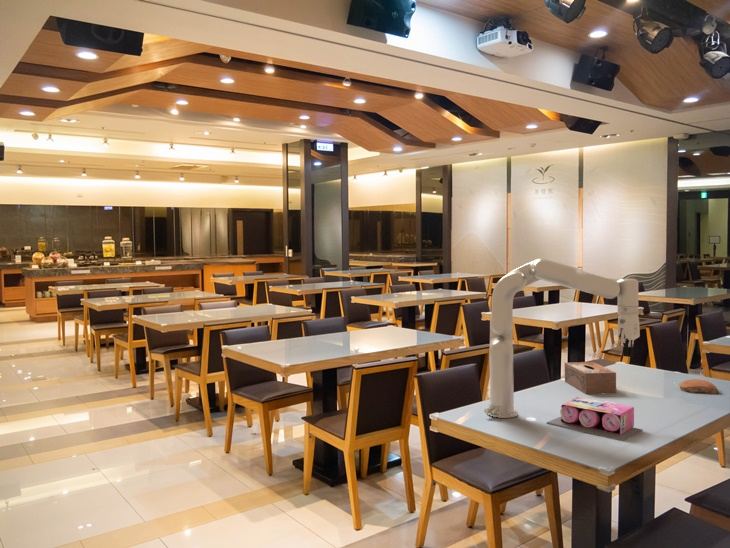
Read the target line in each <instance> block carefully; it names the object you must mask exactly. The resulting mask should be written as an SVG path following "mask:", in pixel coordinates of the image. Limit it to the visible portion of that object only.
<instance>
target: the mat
mask: <svg viewBox="0 0 730 548" xmlns="http://www.w3.org/2000/svg"><path fill="white" fill-rule="evenodd" d="M561 418H562V417H561V416H559V417H556V418H554V419H551V420H549V421H546V424H547V425H552V426H556V427H560V428H561V427H562V428H564V429H569V430H573V431H576V432H577V431H578V432H582V433H586V434H591V435H595V436H599V437H603V438H609V439H614V440H617V441H623V442H624V441H625V440H628V439H629V438H631V437H634V436H635V435H637V434H638V433H641V432H643V429H642V428H638V427H632V428H631V429H629V430H627V431H626V432H624V433H623V434H621V435H617V434H613V433H608V432H604V431H599V430H594V429H589V428H583V427H578V426H572V425H568V424H564V423H561V420H560V419H561Z"/></svg>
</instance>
